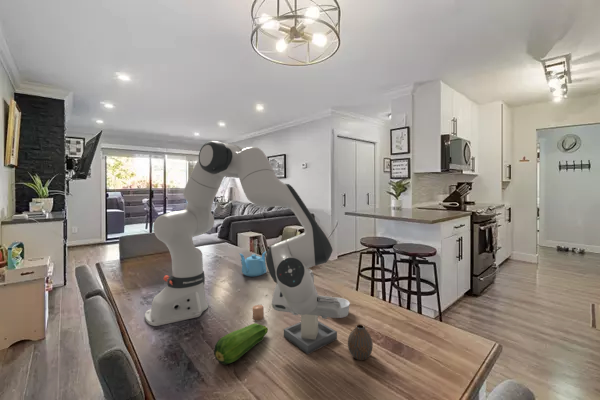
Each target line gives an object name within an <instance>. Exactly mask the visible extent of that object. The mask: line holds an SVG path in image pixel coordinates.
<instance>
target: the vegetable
mask: <svg viewBox="0 0 600 400" xmlns="http://www.w3.org/2000/svg"><path fill="white" fill-rule="evenodd" d="M268 331H269V329H268V326H266V325H262V324H260V323H256V322H255V323H251V324H249V325H247V326H246V325H245V326H244V327H241V328H240V329H237V330H234V331H231V332H229V333H227V334H225V335H224V336H222V337H221V338H219V339H218V340H217V341H216V342H215V345H214V348H213V349H214V350H213V355H214V357H215V360H216V361H217V362H219V364H223V365H230V364H232V363H234V362H236V361H237V360H239V359H240V358H241V357H242V356H244V354H246V353H247V352H248V351H250V350H251V349H252V348H254V347H255V346H256V345H257V344H258V343H260V342H261V341H263V340H264V338H265V337H266V336H267V334H268Z"/></svg>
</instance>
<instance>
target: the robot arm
mask: <svg viewBox="0 0 600 400" xmlns="http://www.w3.org/2000/svg"><path fill="white" fill-rule="evenodd" d="M225 177H226V178H236V179H239V181H240V186H241V188H242V190H243V193H244V194H245V197H246V199H247V200H248V201H249V202H250V203H252V204H253V205H256V206H260V207H263V208H264V207H265V208H268V207H269V208H273V207H277V208H279V207H281V208H286V209H289V210H291V212H292V213H293V214H294V216H295V217H296V219H297V220H298V222H299V223H300V225H301V226H302V228H303V229H304V231H303V232H302V233H300V234H297V235H295V236H292V237H289V238H288V239H284V240H282V241H279V242H276V243H274V244H272V245H270V246H269V248H268V250H267V251H266V254H265V263H266V268H267V270H268V272H269V274H270V277H271V279H272V281H273V282H274V283H276V284H275V286H274V289H273V294H272V299H271V306H272V308H273V309H274V310H275V311H276V312H283V313H291V314H292V315H293V316H299V315H300V316H301V315H305V314H308V315H316V316H318V317H321V319H325V320H327V319H328V318H331V319H332V318H333V319H339V318H338V317H340V311H341V306H340V303H339V301H338V300H337V299H336V297H334V296H328V295H320V294H318V291H317V289H316V285H315V282H314V283H313V279H312V277H311V274H310V272H309V271H308V269H310V268H311V267H314V266H318V265H323V264H326V263H328V261H329V259H330V257H331V255H332V253H333V246H332V243H331V240H330V238H329V237H328V235H327V234H326V233H325V231H323V229H322V228H321V226H320V225H319V224H318V222H316V219H315V218H314V216H313V215H312V213H311V212H310V210H309V209H308V207H307V205H306V204H305V203H304V200H302V198H301V196H300V195H299V193H298V192H297V191H296V189H295V188H294V187H293V186H292V185H290V184H289V183H284V182H282V181H281V180H280V179H279V178H278V177H277V175H276V173H275V169H273V166H272V164H271V162H270V160H269V159H268V157H267V156H266V154H265V153H264V151H263V150H262V149H261V148H258V147H256V146H249V147H246V148H244V147H242V146H239V145H236V144H230V143H224V142H221V141H217V140H210V141H207V142H205V143H204V144H203V145H202V146H201V148H200V150H199V153H198V160H197V161H196V163H195V165H194V167H193V169H192V171H191V173H190V175H189V177H188V180H187V182H186V185H185V186H184V189H183V194H182V196H183V197H184V200H185V201H186V202H187V204H186V206H185V208H184V209H182V210H175V211H169V212H167V213H164V214H161V215H159V216H158V217H156V219H155V220H154V222H153V225H152V227H153V228H152V229H153V233H154V235H155V237H156V238H157V240H159V241H160V242H162V243H163V244H164V245H165V246H166V247H167V249H168V251H169V254H170V257H171V269H172V274H171V275H170V276H169V275H166V274H165V275H164V277H163V278H162V279H163V280H164V281H165V282H166V284H167V286H165V287H164V288H163V289H162V290H161V291H160V292H159V293H157V294H156V295H155V296H154V297H153V299H152V302H151V307H150V308H149V309H148V310H146V311H145V313H144V320H145V321H146V323H147V324H148V325H150V326H154V327H159V326H163V325H167V324H172V323H177V322H181V321H185V320H189V319H194V318H199V317H200V316H201V315H202V313H203V312H204V311H206V310H207V309H208V307H209V302H208V300H207V295H206V290H205V284H206V283H205V282H206V281H205V280H206V279H205V278H206V277H205V275H206V274H205V271H204V261H203V252H202V250H201V249H199V248H197V247H196V246H195V244H194V241H193V237H198V236H201V235H204V234H206V233H207V232H210V231H211V230H212V228H213V227H214V225H215V217H214V214H213V213H212V207H213V203H214V200H215V198H216V196H217V194H218V192H219V189H220V187H221V185H222V182H223V180H224V178H225Z"/></svg>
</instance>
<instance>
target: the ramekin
mask: <svg viewBox="0 0 600 400" xmlns="http://www.w3.org/2000/svg"><path fill="white" fill-rule="evenodd" d="M335 298H336V299H337V300H338V301H339V303H340V306H341V311H340V317H338V318H337V319H340V318H341V319H343V318H346V317H348V316H349V312H350V311H349V310H350V305H351V302H350V301H349V300H348V299H345V298H344V297H335Z"/></svg>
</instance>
